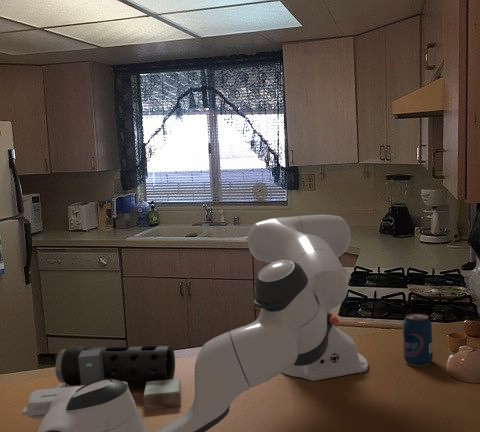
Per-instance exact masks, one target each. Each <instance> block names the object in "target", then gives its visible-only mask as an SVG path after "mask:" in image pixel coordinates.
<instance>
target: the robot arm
mask: <svg viewBox="0 0 480 432" xmlns="http://www.w3.org/2000/svg"><path fill="white" fill-rule="evenodd" d="M351 234H352V233H351V229H350V226H349V224H348V223H347V221H346V220H345V218H343V217H342V216H339V215H333V214H323V213H322V214H320V213H319V214H306V215H297V216H296V215H295V216H284V217H283V216H282V217H272V218H267V219H264V220H261V221H260V220H259V221H257V222H254V224H253V225H252V226H251V227H250V229H249V231H248V235H247V245H248V249H249V251H250V253H251V255H252V256H253V257H254V258H255V259H256V260H257V261H261V262H266V263H268V264H267V265H265V266H264V267H263V268H261V270H259V272H258V274H257V276H256V277H255V280H254V299H253V305H254V307H255V308H259V309H260V313H259V315H258V317H257V318H256V319H255V320H254V321H253V322H251V323H248V324H247V325H243V326H240V327H237V328H235V329H232V330H228V331H227V332H223V333H222V334H219V335H218V336H215V337H214V338H211V339H209V341H207V342H205V343H204V344H203V345H202V347H201V349H200V350H199V352H198V353H197V356H196V358H195V359H196V360H195V364H194V397H193V403H192V404H191V407H190V408H189V409H188V410H187V411H186V412H185V413H183V414H181V416H178V417H177V418H175V419H173V420H172V421H170V422H168V423H167V424H166V425H164V426H162V427H160V428H159V429H157V430H156V431H154V432H207V431H209V430H210V429H211V428H213V427H215V426H217V424H219V423H220V422H222V420H224V418H226V416H228V414H229V413H230V412H229V411H230V408H231V404H232V402H234V400H235V399H236V398H237V397H239V396H240V395H241V394H242V393H244V392H246V391H248V390H250V389H251V388H254V387H257V386H260V385H261V384H264V383H266V382H268V381H270V380H272V379H274V378H276V377H277V376H278V375H280V374H283V375H287V376H291V377H294V378H295V377H296V378H302V379H304V380H308V381H311V382H312V381H313V382H315V381H320V380H325V379H331V378H335V377H336V378H337V377H342V376H348V375H353V374H357V373H358V374H359V373H365V372H367V370H368V369H369V363H368V361H367V359H366V358H365V357H364V356H363V355H362V354H360V353H359V352H358V348H357V345H356V343H355V340H354V339H353V338H352V337H350V336H349V335H348V334H346V332H343V330H341V329H339V328H338V327H337V326H336V325H338V324H339V323H340V319H339V318H338V317H337V316H336V315H334V314H333V313H330V312H329V311H330V310H332V309H334V308H338V306H340V305H341V304H342V303H343V302H344V300H345V299H346V297H347V294H348V290H349V288H348V287H349V285H348V280H347V276H346V272H345V270H344V266H343V265H342V263H341V260H339V257H340V256H342V255H343V254H344V253H345V252H346V251H347V249H348V248H349V245H350V243H351V238H352V237H351ZM21 414H22V416H27V417H28V418H30V419H33V420H40V419H42V420H41V422H40V423H39V426H38V428H37V430H36V432H149V431H148V430H147V428H146V427H145V424H144V422H143V419H142V416H141V414H140V411H139V410H138V406H137V404H136V401H135V398H134V397H133V394H132V392H131V390H130V388H129V386H128V383H127V382H122V381H119V380H114V379H109V378H104V379H100V380H96V381H93V382H91V383H89V384H87V385H82V386H81V385H77V386H68V385H67V383H59V384H58V386H55V387H52V388H42V389H36V390H34V391H32V392H31V393H30V394H29V398H28V404H27V406H25V407H24V408H23V409H22V411H21Z"/></svg>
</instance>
